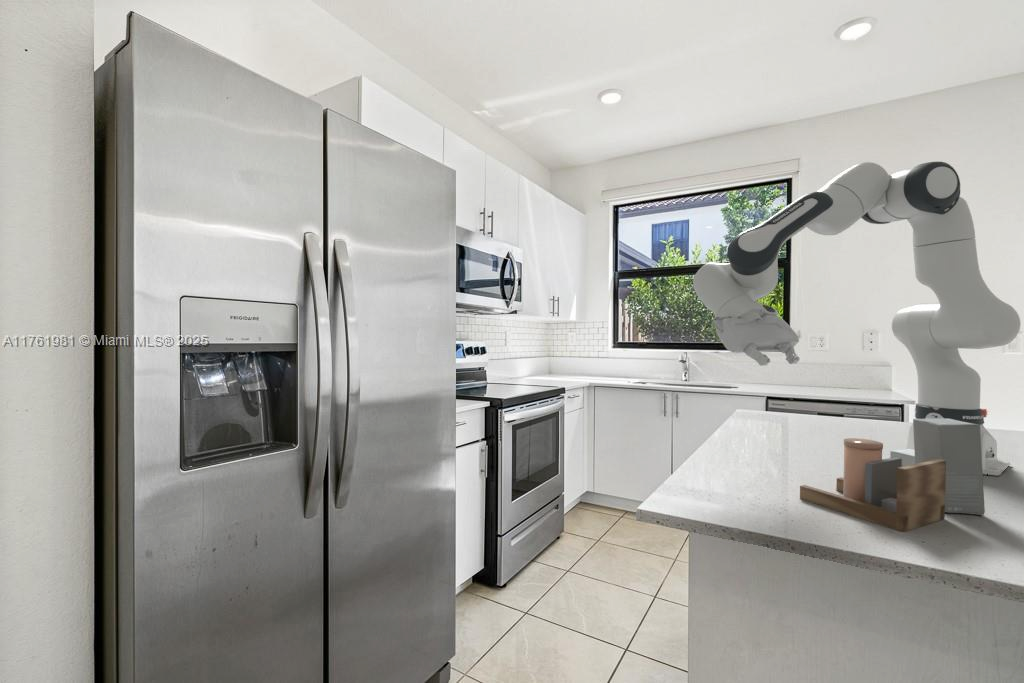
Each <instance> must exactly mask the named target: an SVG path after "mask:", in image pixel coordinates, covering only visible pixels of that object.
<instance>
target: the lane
mask: <svg viewBox="0 0 1024 683" xmlns="http://www.w3.org/2000/svg"><path fill="white" fill-rule="evenodd" d="M843 481H844V477H836V491H837V492H841V493H843ZM945 481H946V460H941V459H937V460H932V461H927V462H923V463H918V464H913V465H908V466H904V467H899V468H897V507H896V512H895V511H891V510H888V509H885V508H881V507H878V506H874V505H871V504H868V503H864V502H861V501H857V500H854V499H851V498H847V497H844V496H843V495H842V494H841V495H840V494H836V493H834V492H830V491H827V490H823V489H819V488H817V487H813V486H809V485H806V484H803V485H800V486H799V499H801V500H803V501H806V500H807V502H809V501H810V503H812V502H813V504H815V503H816V504H815V505H819V506H822V507H826V508H827V509H831V510H833V511H834V510H835V511H838V512H840V513H843V514H847V515H850V516H853V517H856V518H860V519H862V520H865V521H868V522H871V523H875V524H877V525H881V526H883V527H887V528H890V529H893V530H897V531H899V532H902V533H904V532H907V531H910V530H912V529H917V528H920V527H922V526H923V527H924V526H926V525H929V524H932V523H936V522H939V521H942V520H944V519H945V514H946V512H945Z"/></svg>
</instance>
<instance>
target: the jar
mask: <svg viewBox="0 0 1024 683" xmlns="http://www.w3.org/2000/svg"><path fill="white" fill-rule="evenodd" d="M843 446H844V447H843V478H844V481H843V492H842V493H843V494H842V496H844V497H847V498H851V499H854V500H857V501H861V502H864V503H865V471H866V463H867V462H872V461H878V460H883V449H884V443H883V442H880V441H877V440H872V439H866V438H854V437H853V438H852V437H851V438H844V439H843Z"/></svg>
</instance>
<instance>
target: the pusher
mask: <svg viewBox="0 0 1024 683" xmlns="http://www.w3.org/2000/svg"><path fill="white" fill-rule="evenodd" d="M899 467H902V458H898V457H893V458H890V457H888V458H882V460H878V461H872V462H867V463H866V471H865V503H868V504H871V505H874V506H878V507H881V508H885V509H888V510H891V511H895V512H896V507H897V468H899Z"/></svg>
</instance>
